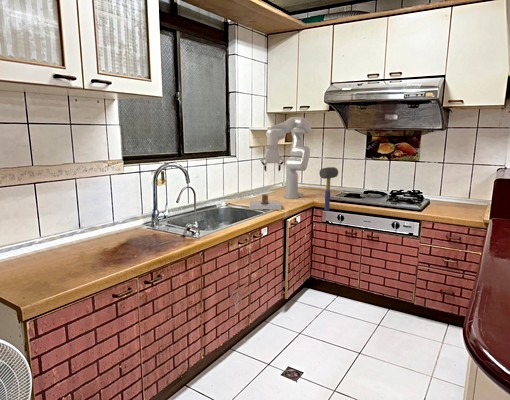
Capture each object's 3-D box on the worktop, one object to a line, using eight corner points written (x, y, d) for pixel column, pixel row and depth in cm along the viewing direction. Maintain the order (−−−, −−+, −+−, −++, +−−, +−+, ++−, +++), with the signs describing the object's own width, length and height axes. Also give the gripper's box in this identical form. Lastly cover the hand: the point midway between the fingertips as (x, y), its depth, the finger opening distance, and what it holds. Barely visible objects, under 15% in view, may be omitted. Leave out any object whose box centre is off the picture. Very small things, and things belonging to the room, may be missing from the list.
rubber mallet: (324, 213, 240) (327, 168, 234) (316, 211, 246) (318, 167, 240) (336, 210, 248) (339, 167, 242) (328, 208, 254) (330, 166, 248)
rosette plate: (279, 205, 263) (279, 201, 262) (281, 209, 249) (281, 205, 248) (249, 205, 262) (249, 200, 261) (249, 209, 248) (249, 205, 247)
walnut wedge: (267, 206, 257) (267, 194, 256) (267, 207, 253) (268, 195, 252) (261, 206, 257) (262, 194, 255) (262, 207, 253) (262, 195, 252)
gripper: (283, 146, 260) (283, 170, 264) (260, 147, 260) (260, 170, 264) (285, 147, 253) (284, 171, 257) (260, 148, 252) (260, 172, 256)
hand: (272, 171), depth 260 cm, fingers open, 9 cm apart
